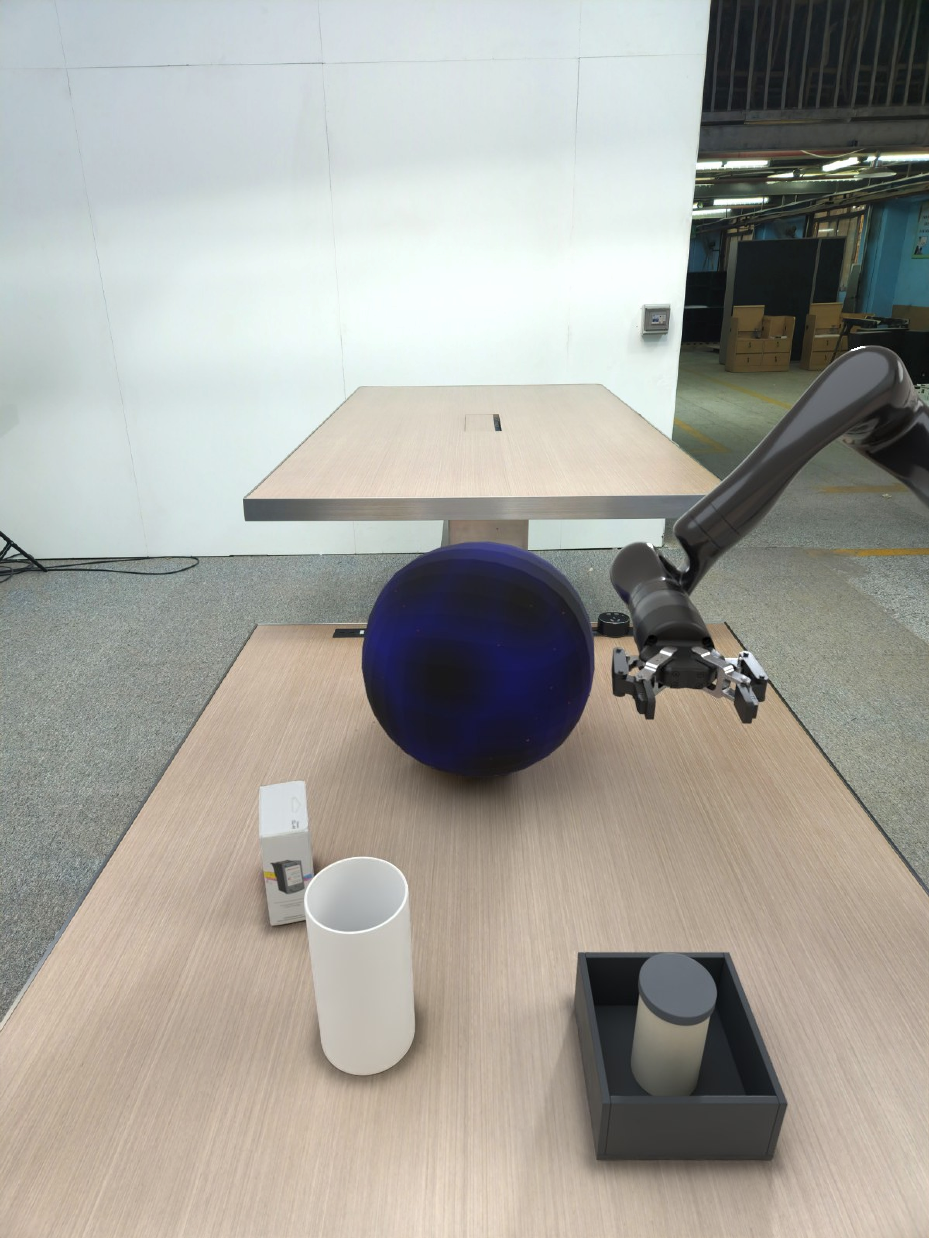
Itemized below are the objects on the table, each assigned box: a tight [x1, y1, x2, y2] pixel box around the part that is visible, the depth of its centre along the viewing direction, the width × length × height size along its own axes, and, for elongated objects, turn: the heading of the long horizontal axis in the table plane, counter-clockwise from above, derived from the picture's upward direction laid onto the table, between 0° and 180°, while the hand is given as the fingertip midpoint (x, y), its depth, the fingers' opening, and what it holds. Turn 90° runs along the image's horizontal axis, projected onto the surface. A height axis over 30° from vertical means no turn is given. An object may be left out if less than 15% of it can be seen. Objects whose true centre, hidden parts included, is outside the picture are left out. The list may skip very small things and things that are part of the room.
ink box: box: [258, 780, 315, 926], centre depth 78 cm, size 9×5×12 cm, turn 14°
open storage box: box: [573, 951, 789, 1161], centre depth 61 cm, size 13×13×7 cm
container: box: [631, 953, 717, 1096], centre depth 60 cm, size 6×6×10 cm
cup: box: [304, 856, 416, 1076], centre depth 63 cm, size 8×8×16 cm
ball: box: [326, 527, 596, 779], centre depth 99 cm, size 35×31×30 cm
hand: (700, 713), depth 67 cm, fingers open, 8 cm apart
